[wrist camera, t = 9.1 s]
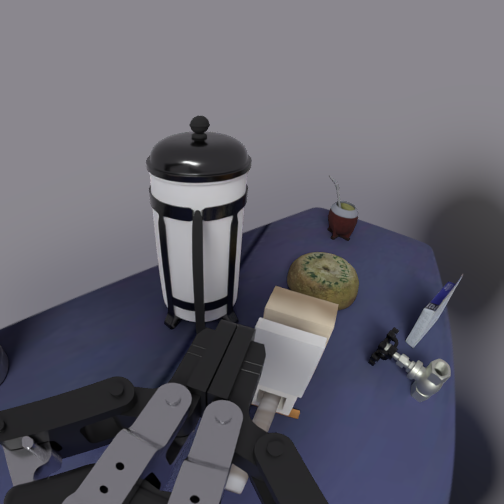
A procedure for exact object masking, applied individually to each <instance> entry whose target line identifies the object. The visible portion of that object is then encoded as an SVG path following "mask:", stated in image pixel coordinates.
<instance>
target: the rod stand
mask: <svg viewBox="0 0 504 504" xmlns="http://www.w3.org/2000/svg"><path fill="white" fill-rule="evenodd" d="M338 305H339V304H335V303H332V302H328V301H325V300H321V299H318V298H315V297H311V296H308V295H304V294H301V293H298V292H294V291H291V290H288V289H284V288H281V287H278V286H275V288H274V290H273V292H272V294H271V296H270V298H269V300H268V303H267V305H266V307H265V311H264V317H263V318H264V319H267V320H270V321H273V322H276V323H279V324H283V325H286V326H289V327H292V328H295V329H299V330H302V331H305V332H309V333H312V334H316V335H319V336H322V337H326V338H327V341H326V345H327V342H328V340H329V338H330V336H331V333H332V331H333V328H334V324H335V320H336V315H337V310H338ZM326 345H325V347H326ZM322 354H323V353H322ZM321 356H322V355H321ZM318 363H319V362H318ZM317 365H318V364H317ZM316 367H317V366H316ZM315 369H316V368H315ZM310 380H311V379H310ZM309 382H310V381H309ZM280 399H281V396H278V395H275V394H272V393H269V392H266V391H265V392H264V394H263V397H262V399H261V401H260V404H259V406H258V408H257V411H256V413H255V415H254V418H253V420H252V421H253V422H254V423H255V424H256V425H257V426H258V427H260V428H261V429H263V430H265V431H266V432H268V430H269V428H270V425H271V423H272V420H273V418H274V415H275V412H276V410H277V407H278V405H279V402H280ZM252 405H254V404H252ZM255 406H257V405H255ZM276 413H278V412H276ZM299 413H300V411H299V410H295V409H292V410H291V412H290V414H289V417H292V418H296V419H298V416H299ZM279 414H281V413H279ZM282 415H285V414H282ZM286 416H288V415H286ZM248 477H249V476H248V474H247V473H246V472H245V471H243V470H241V469H240V468H238V467H237V466H235V465H234V464H232V466H231V470H230V473H229V477H228V480H227V484H226V488H225V489H226V490H228V491H230V492H233V493H237V494H241V493H242V491H243V488H244V486H245V484H246V482H247V480H248Z"/></svg>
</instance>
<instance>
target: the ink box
mask: <svg viewBox="0 0 504 504" xmlns="http://www.w3.org/2000/svg"><path fill="white" fill-rule="evenodd" d="M462 276H463V274H462ZM462 276H461V278H462ZM461 278H460V279H459V281H460V280H461ZM459 281H458V282H457V283H456V284H454V283H451V282H448V283H447V284H446V285H445V286H444V287H443V288H442V289H441V291H440V292H439V293H438V294H437V295H436V296H435V297H434V298H433V299H432V301H431V302H430V303H429V304H428V305H427V306H426V307H425V308H424V309H423V311H422V313H421V315H420V317H419V318H418V320H417V322H416V324H415V326H414V327H413V329H412V331H411V332H410V334H409V336H408V337H407V339H406V342H407V343H408V344H409V345H410V346H411V347H412V348H414V347H415V346H416V345H417V343H418V342H419V341H420V340H421V339H422V338H423V336H424V335H425V334H426V333H427V332H428V330H429V329H430V328H431V327H432V326H433V325H434V323H435V322H436V321H437V320H438V318H439V316H440V315H441V313H442V311H443V309H444V308H445V306H446V304H447V302H448V300H449V299H450V297H451V295H452V293H453V291H454V290H455V288H456V286H457V285H458V283H459Z"/></svg>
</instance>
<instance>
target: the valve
mask: <svg viewBox="0 0 504 504" xmlns="http://www.w3.org/2000/svg"><path fill="white" fill-rule="evenodd" d="M398 332H399V330H398V329H396V328H395V327H394V328H393V329H392V330H390V331H389V333H388V334H387V336H386V338H385V340H384V341H382V342H381V343H380V344H379V346H378V349H377V351H376V352H374V353H373V354H372V356H371V357H370V360H369V362H368V363H369V364H371V365H372V366H374V364H375V362H376V361H377V362H378V361H379V359H380V358H381V359H382V360H387V359H391V358H392V357H393V358H394V359H395V360H397V362H396V364H397V365H398V366H400V367H401V368H403V366H404V367H405V368H406V372H408V374H407V377H408V378H409V379H411V380H412V379H414V380H416V381H415V382H414V383H413V384H412V385H411V396H412V397H413V398H414V399H416V400H417V401H418V402H422V401H424V400H427V399H429V398H430V397H431V396H432V395H433V394H435V393H436V392H438V391H439V390H440V388H441V387H442V385H443V383H444V382H445V381H446V380H447V379H448V378H449V377H450V366H449V365H448V364H447V363H446V362H445V361H443V360H442V359H437V360H434V361H432V362H431V363H430V364H429V365H428V367H427V368H425V367H423V366H422V365H423V363H422V362H421V361H419V360H418V361H417V362H416V363H415V362H414V361H412V362H410V361H409V357H407V356H406V355H405V354H402V355H400V354H398V353H397V350H398V349H397V348H396V347H397V346H398V340H397V338H396V335H395V333H396V334H397V333H398ZM391 340H392V341H394V342H395V344H394V346H393V345H392V344H389V343H390V341H391ZM382 353H383V354H382Z"/></svg>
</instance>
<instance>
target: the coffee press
mask: <svg viewBox="0 0 504 504" xmlns="http://www.w3.org/2000/svg"><path fill="white" fill-rule="evenodd" d="M209 126H210V124H209V121H208V120H207V119H206V118H205V117H204V116H197V117H194V118H193V120H192V121H191V123H190V127H191V129H192V131H193V132H185V133H179V134H175V135H172V136H169V137H166V138H164V139H162V140H161V141H159V142H158V143H157V144H156V145H155V146H154V147H153V149H152V151H151V154H150V156H149V157H148V158H147V160H146V165H147V170H148V172H149V174H150V181H151V185H150V188H149V193H150V204H151V206H152V208H153V218H154V229H155V239H156V248H157V256H158V264H159V272H160V279H161V286H162V292H163V298H164V301H165V304H166V306H167V307H168V314H167V317H166V319H165V322H164V324H165V325H166V326H167V327H169V328H170V329H174V328H175V327H176V326H177V324H178V322H179V320H180V319H181V318H182V319H184V320H187V321H192V322H196V333H197V334H198V333H200V332H201V331H202V330H204V329H205V322H208V321H212V320H216V319H218V318H220V317H221V318H222V319H223V320H226V321H229V322H233V323H236V324H237V323H238V319H237V317H236V315H235V313H234V311H233V306H234V304H235V302H236V299H237V292H238V280H239V268H240V255H241V243H242V230H243V218H244V206H245V204H246V202H247V191H248V186H247V184H246V181H247V173H248V172H249V170H250V168H251V161H252V160H251V157H250V156H249V155H248V154H247V150H246V148H245V146H244V145H243V144H242V143H241V142H240V141H238V140H237V139H235V138H233V137H231V136H228V135H225V134H221V133H214V132H206V131H207V129H208V127H209Z"/></svg>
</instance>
